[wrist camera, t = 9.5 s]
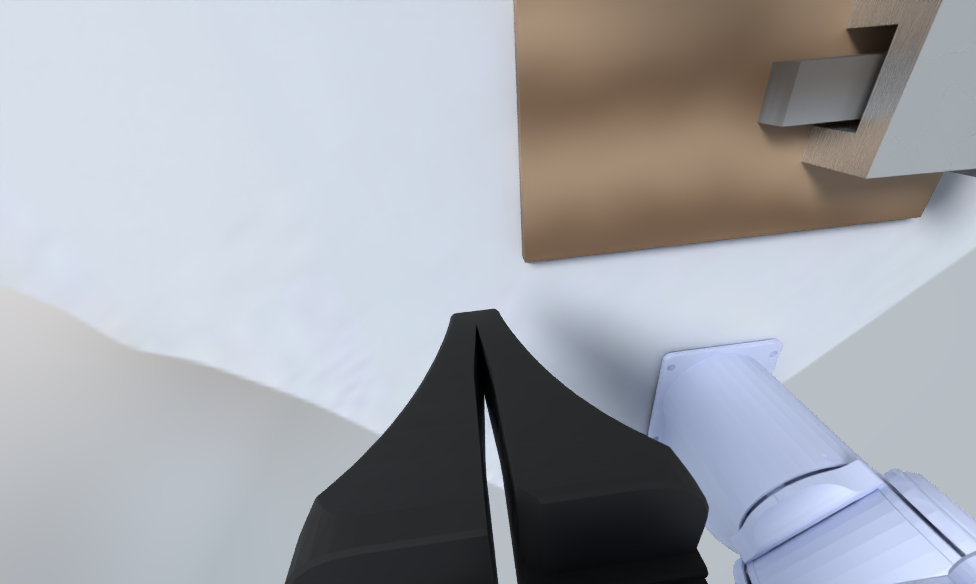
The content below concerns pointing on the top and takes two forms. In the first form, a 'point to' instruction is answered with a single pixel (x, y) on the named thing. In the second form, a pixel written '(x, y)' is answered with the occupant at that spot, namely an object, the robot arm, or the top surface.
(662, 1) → the slide rail board
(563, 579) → the robot arm
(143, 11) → the top surface
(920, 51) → the block
